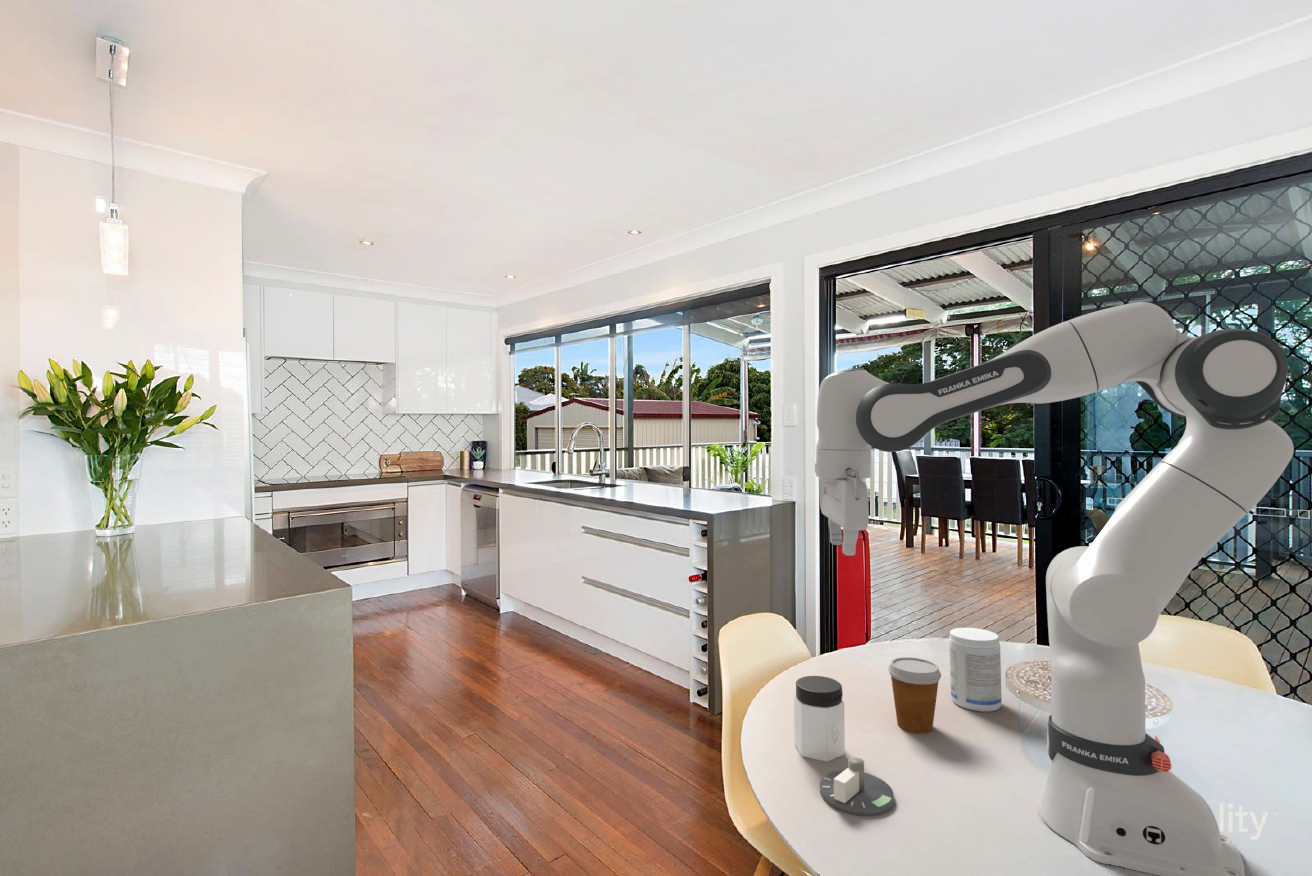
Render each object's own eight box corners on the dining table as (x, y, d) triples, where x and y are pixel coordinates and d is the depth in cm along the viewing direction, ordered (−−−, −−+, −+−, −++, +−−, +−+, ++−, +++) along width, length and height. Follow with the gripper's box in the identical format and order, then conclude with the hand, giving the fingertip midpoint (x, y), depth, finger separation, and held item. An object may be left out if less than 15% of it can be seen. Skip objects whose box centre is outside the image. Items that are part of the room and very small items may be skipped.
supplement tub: (1010, 705, 132) (1009, 635, 132) (987, 718, 126) (986, 644, 126) (964, 690, 140) (964, 624, 140) (940, 701, 134) (940, 632, 134)
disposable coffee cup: (890, 734, 120) (889, 671, 120) (887, 713, 129) (886, 654, 129) (945, 741, 117) (944, 676, 117) (938, 719, 126) (937, 658, 126)
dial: (901, 791, 101) (901, 782, 101) (882, 826, 92) (882, 817, 92) (833, 770, 107) (833, 762, 107) (809, 802, 98) (809, 793, 98)
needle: (852, 780, 101) (852, 755, 101) (867, 786, 99) (866, 761, 99) (832, 797, 96) (831, 771, 96) (846, 804, 95) (846, 777, 95)
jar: (819, 767, 108) (818, 697, 108) (785, 747, 115) (784, 682, 115) (854, 752, 113) (853, 685, 113) (819, 734, 120) (818, 671, 120)
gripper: (879, 471, 96) (878, 562, 96) (848, 464, 116) (847, 539, 116) (837, 470, 96) (836, 561, 96) (813, 463, 117) (812, 538, 117)
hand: (842, 549), depth 107 cm, fingers open, 8 cm apart
